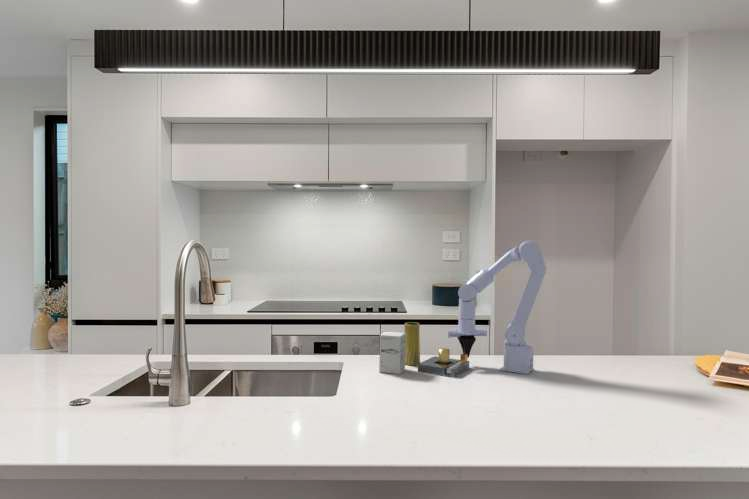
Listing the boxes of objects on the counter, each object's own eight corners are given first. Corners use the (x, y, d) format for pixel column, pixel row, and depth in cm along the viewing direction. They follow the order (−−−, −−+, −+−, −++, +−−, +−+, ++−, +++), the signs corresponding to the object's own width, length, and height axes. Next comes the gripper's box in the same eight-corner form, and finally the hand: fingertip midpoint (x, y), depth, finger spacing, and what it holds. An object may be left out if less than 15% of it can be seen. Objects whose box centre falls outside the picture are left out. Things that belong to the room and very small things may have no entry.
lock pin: (467, 364, 177) (467, 354, 176) (451, 373, 165) (451, 362, 165) (462, 363, 177) (462, 353, 177) (446, 372, 166) (446, 361, 166)
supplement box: (378, 372, 169) (378, 334, 168) (384, 367, 176) (385, 330, 175) (400, 374, 167) (400, 336, 166) (405, 369, 174) (406, 332, 173)
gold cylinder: (450, 369, 173) (451, 349, 173) (446, 371, 170) (446, 351, 170) (441, 368, 175) (441, 347, 175) (436, 370, 172) (437, 349, 172)
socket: (469, 368, 175) (469, 361, 175) (454, 377, 164) (454, 369, 164) (434, 363, 182) (434, 356, 181) (417, 371, 171) (417, 363, 170)
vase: (400, 362, 182) (400, 322, 182) (415, 360, 185) (415, 321, 184) (408, 366, 177) (408, 325, 176) (423, 364, 179) (424, 324, 179)
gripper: (451, 320, 172) (450, 360, 173) (491, 319, 175) (490, 358, 176) (444, 317, 179) (443, 355, 180) (482, 316, 182) (481, 354, 183)
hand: (466, 357), depth 178 cm, fingers closed
